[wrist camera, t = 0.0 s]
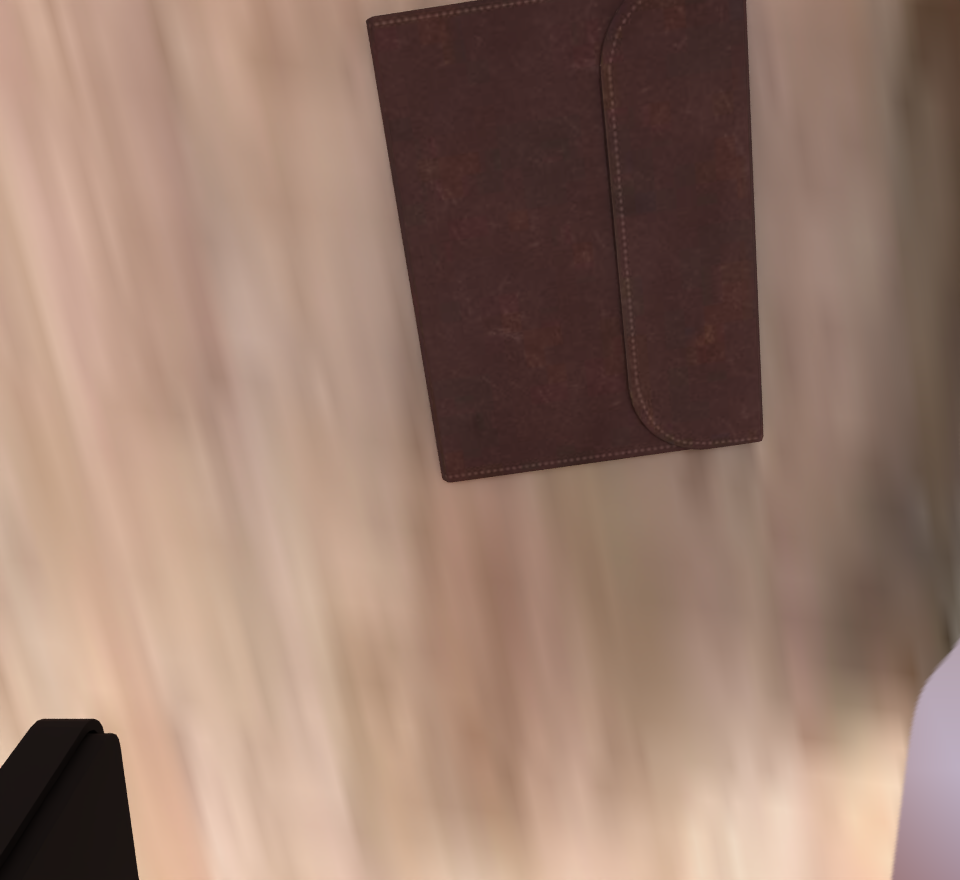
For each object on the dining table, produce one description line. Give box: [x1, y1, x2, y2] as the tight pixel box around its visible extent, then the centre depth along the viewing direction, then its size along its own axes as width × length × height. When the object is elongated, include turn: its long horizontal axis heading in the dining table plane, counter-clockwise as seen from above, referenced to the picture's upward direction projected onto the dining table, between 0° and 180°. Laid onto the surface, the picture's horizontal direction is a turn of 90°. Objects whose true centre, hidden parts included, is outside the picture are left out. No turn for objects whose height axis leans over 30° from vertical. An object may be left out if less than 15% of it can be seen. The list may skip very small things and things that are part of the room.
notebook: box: [366, 0, 763, 482], centre depth 38 cm, size 15×20×2 cm
